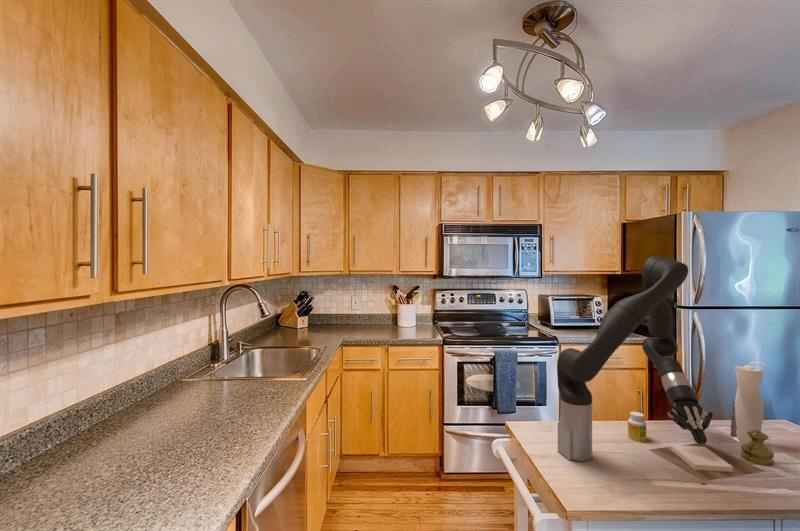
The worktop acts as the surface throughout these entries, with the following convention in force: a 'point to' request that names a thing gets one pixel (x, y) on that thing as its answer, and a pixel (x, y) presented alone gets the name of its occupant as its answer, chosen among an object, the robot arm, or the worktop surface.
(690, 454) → the tile
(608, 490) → the worktop surface
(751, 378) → the skyscraper
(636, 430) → the supplement bottle
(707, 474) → the board
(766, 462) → the brass knob
